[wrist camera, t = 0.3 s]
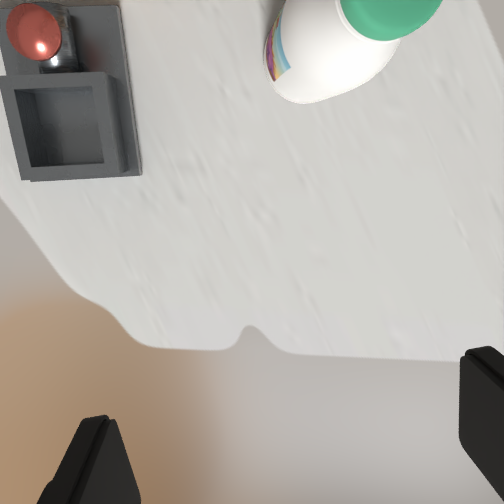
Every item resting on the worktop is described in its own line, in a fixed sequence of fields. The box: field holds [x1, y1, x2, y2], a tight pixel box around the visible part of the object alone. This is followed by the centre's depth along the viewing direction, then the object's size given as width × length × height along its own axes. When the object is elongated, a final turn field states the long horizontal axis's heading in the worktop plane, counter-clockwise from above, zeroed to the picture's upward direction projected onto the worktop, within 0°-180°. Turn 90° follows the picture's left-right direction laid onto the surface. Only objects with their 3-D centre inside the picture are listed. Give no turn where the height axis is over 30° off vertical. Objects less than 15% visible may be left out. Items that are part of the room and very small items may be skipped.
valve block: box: [0, 2, 142, 182], centre depth 31 cm, size 14×10×6 cm
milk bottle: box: [263, 0, 442, 104], centre depth 25 cm, size 8×8×20 cm
